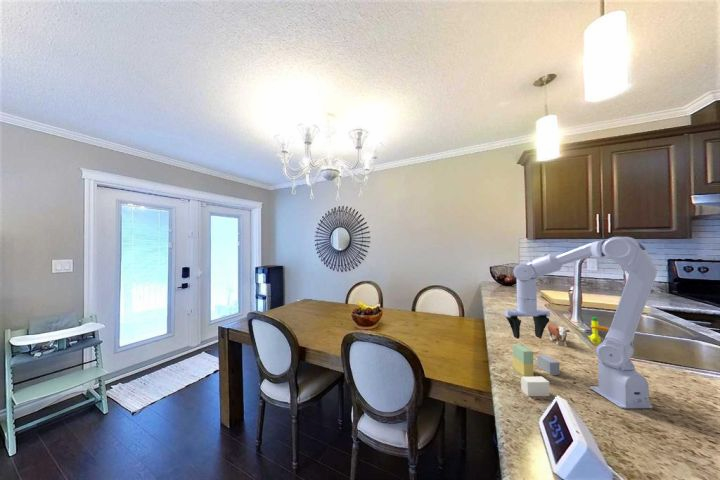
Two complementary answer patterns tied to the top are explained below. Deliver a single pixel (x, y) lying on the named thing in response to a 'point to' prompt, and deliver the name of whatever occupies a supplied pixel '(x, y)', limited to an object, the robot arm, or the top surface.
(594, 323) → the toy figure
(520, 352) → the green brick
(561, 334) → the bull figurine
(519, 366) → the mustard brick
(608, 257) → the robot arm
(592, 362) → the top surface
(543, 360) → the grey brick
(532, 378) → the cream brick
